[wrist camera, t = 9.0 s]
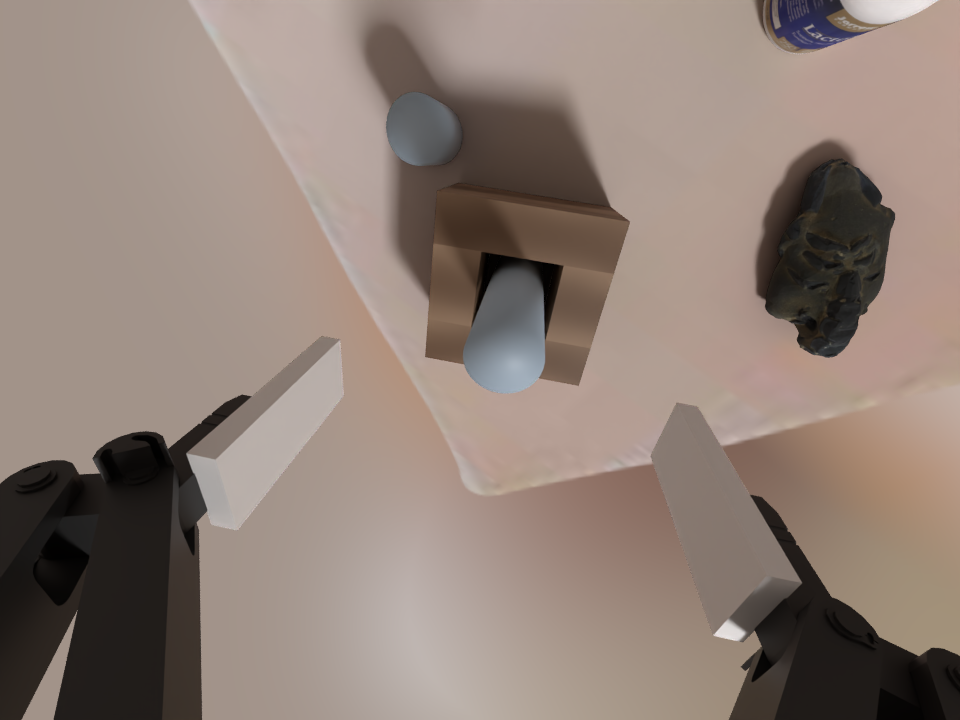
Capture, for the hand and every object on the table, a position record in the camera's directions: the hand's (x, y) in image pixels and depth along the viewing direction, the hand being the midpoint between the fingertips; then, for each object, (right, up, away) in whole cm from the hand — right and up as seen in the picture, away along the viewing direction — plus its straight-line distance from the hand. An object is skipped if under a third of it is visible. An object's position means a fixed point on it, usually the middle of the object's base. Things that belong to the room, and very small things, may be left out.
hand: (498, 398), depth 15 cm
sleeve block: (+3, +9, +17) cm, 20 cm away
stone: (+25, +10, +14) cm, 30 cm away
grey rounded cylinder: (-4, +18, +13) cm, 23 cm away
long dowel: (+3, +9, +17) cm, 20 cm away
